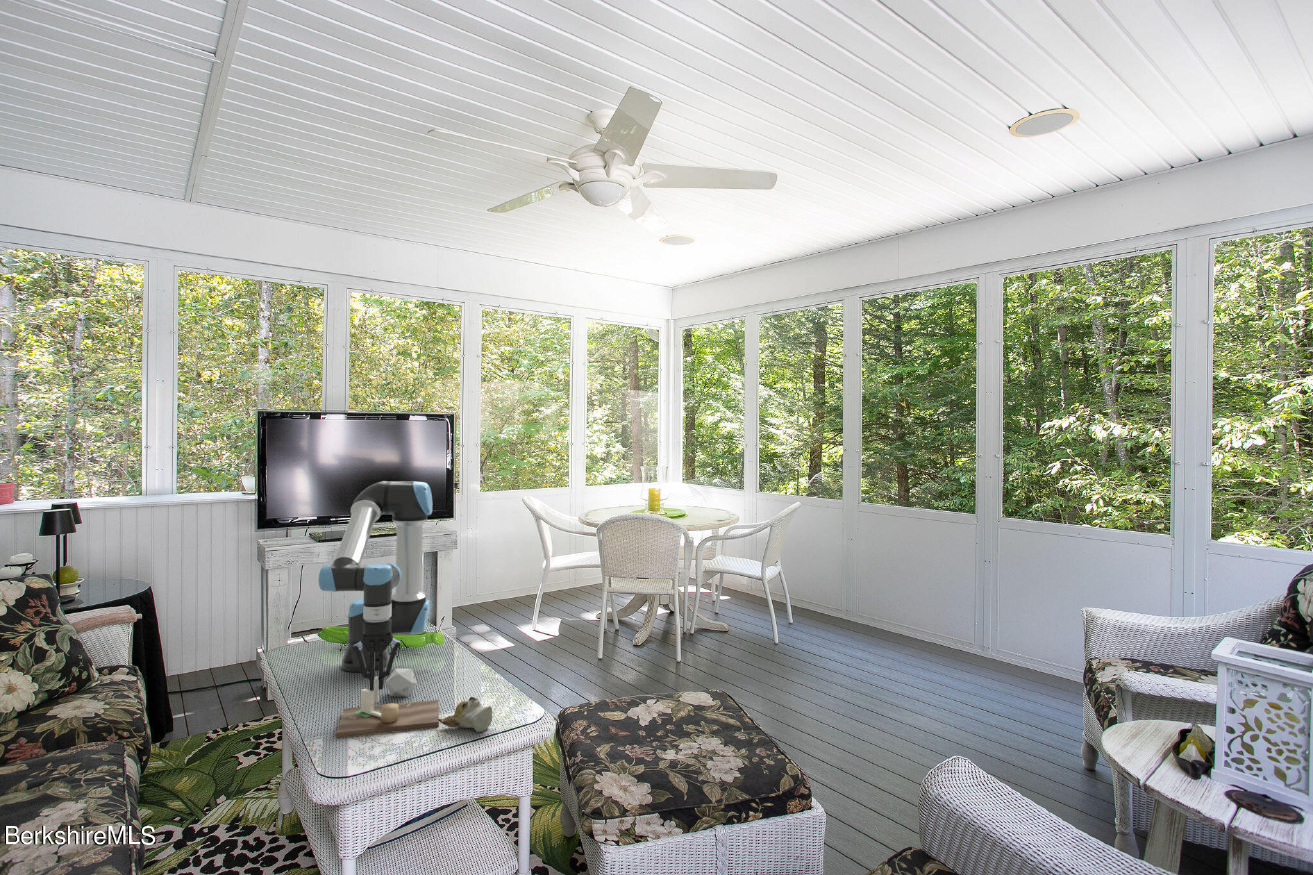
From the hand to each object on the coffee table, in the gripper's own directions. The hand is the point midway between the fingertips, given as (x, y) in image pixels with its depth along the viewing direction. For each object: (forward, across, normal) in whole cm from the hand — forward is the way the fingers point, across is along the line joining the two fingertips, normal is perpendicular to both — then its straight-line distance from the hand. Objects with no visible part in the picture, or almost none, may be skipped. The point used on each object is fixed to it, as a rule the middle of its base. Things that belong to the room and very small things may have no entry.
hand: (376, 700), depth 190 cm
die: (+5, +6, +15) cm, 17 cm away
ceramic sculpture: (+5, +25, -14) cm, 29 cm away
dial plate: (+5, +4, -4) cm, 7 cm away
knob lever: (+3, +1, -4) cm, 5 cm away
